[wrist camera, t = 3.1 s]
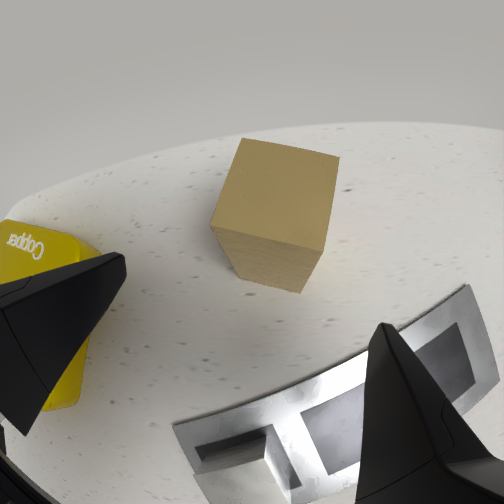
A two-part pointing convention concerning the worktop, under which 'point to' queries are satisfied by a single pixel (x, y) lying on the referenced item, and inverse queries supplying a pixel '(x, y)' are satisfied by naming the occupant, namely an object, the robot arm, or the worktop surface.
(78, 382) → the element tile
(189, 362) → the worktop surface
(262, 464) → the zinc block
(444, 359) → the grey slotted plate
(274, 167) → the tan wooden block
